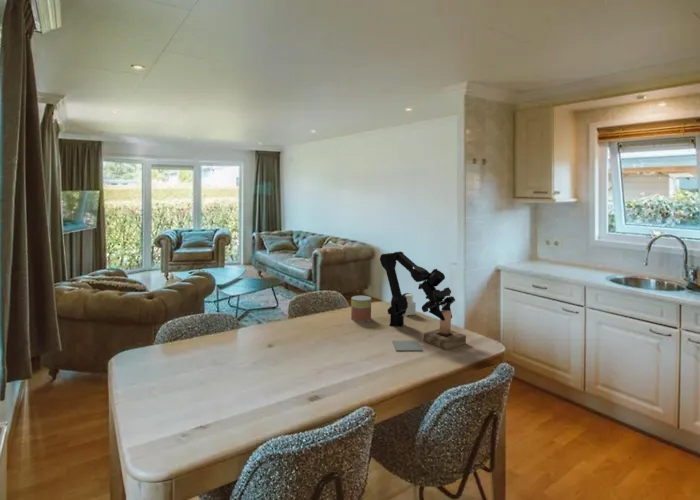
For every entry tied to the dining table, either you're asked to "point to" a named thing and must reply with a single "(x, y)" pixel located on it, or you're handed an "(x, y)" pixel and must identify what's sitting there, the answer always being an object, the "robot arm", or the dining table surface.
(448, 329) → the peg
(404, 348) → the pad
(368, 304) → the canned food
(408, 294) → the medicine bottle
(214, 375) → the dining table surface
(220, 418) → the dining table surface
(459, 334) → the pocket block
